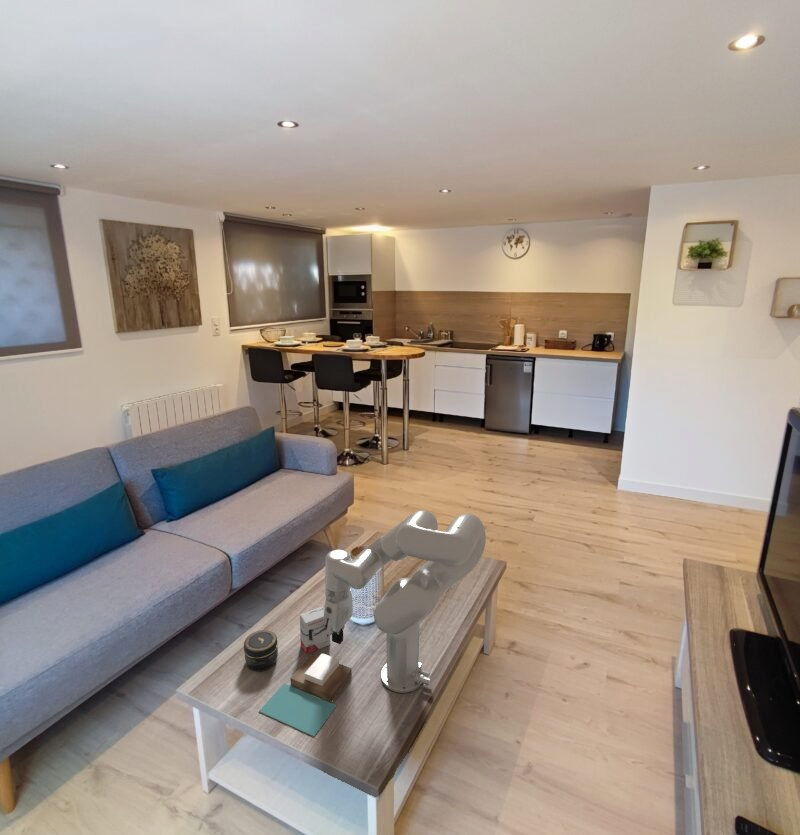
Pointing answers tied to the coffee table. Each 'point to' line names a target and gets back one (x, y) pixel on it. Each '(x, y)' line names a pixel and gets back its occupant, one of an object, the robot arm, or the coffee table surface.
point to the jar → (261, 650)
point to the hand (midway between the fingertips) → (337, 641)
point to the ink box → (313, 630)
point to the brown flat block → (330, 685)
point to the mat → (298, 709)
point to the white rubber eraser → (321, 669)
